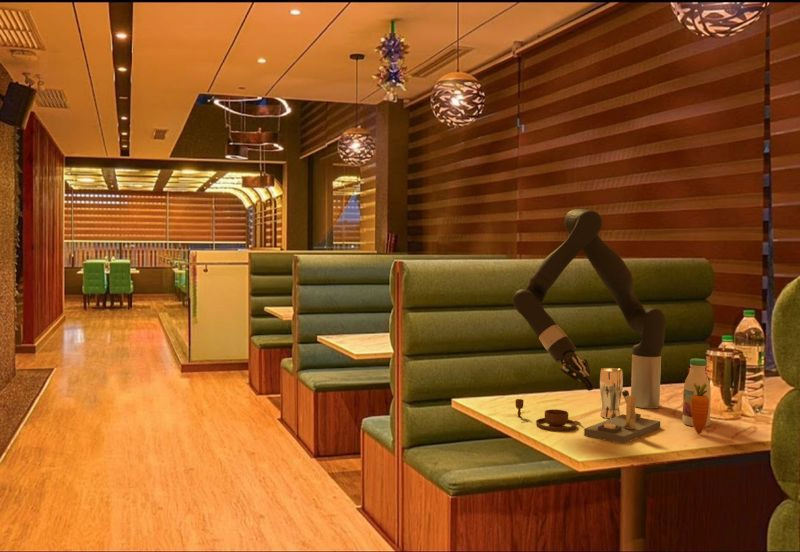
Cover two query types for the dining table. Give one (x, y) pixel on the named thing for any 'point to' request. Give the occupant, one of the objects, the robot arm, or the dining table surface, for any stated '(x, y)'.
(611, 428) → the push button
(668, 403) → the dining table surface
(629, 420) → the block
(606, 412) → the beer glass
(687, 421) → the milk bottle
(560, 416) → the place setting
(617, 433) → the switch panel
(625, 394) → the toggle lever
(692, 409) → the carrot
